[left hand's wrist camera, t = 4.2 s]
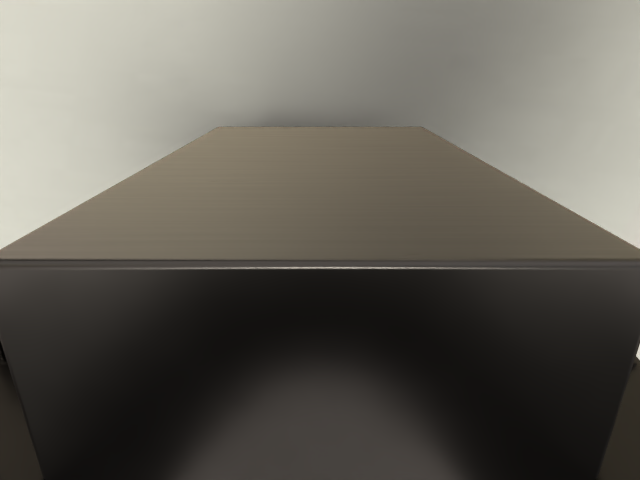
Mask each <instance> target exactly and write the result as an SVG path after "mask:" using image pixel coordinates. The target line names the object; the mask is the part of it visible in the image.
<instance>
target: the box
mask: <svg viewBox="0 0 640 480" xmlns="http://www.w3.org/2000/svg"><path fill="white" fill-rule="evenodd" d="M0 341H1V344H2V347H3V351H4V354H5V357H6V360H7V363H8V367H9V370H10V373H11V376H12V379H13V383H14V386H15V389H16V392H17V395H18V399H19V402H20V405H21V408H22V411H23V415H24V418H25V421H26V424H27V427H28V431H29V434H30V437H31V440H32V443H33V447H34V450H35V453H36V456H37V459H38V463H39V466H40V469H41V472H42V475H43V478H44V479H45V480H595V479H596V478H598V475H599V472H600V469H601V465H602V462H603V459H604V456H605V453H606V450H607V446H608V443H609V440H610V437H611V434H612V430H613V427H614V424H615V421H616V418H617V414H618V411H619V408H620V405H621V402H622V398H623V395H624V392H625V389H626V386H627V383H628V379H629V376H630V373H631V370H632V367H633V363H634V360H635V357H636V354H637V351H638V347H639V344H640V249H639V248H637V247H635V246H633V245H632V244H630V243H628V242H626V241H624V240H623V239H621V238H619V237H617V236H615V235H614V234H612V233H610V232H608V231H607V230H605V229H603V228H601V227H599V226H598V225H596V224H594V223H592V222H591V221H589V220H587V219H585V218H583V217H582V216H580V215H578V214H576V213H574V212H573V211H571V210H569V209H567V208H566V207H564V206H562V205H560V204H558V203H557V202H555V201H553V200H551V199H550V198H548V197H546V196H544V195H542V194H541V193H539V192H537V191H535V190H534V189H532V188H530V187H528V186H526V185H525V184H523V183H521V182H519V181H517V180H516V179H514V178H512V177H510V176H509V175H507V174H505V173H503V172H501V171H500V170H498V169H496V168H494V167H493V166H491V165H489V164H487V163H485V162H484V161H482V160H480V159H478V158H476V157H475V156H473V155H471V154H469V153H468V152H466V151H464V150H462V149H460V148H459V147H457V146H455V145H453V144H452V143H450V142H448V141H446V140H444V139H443V138H441V137H439V136H437V135H436V134H434V133H432V132H430V131H428V130H427V129H425V128H423V127H217V128H216V129H214V130H212V131H210V132H208V133H207V134H205V135H203V136H201V137H200V138H198V139H196V140H194V141H192V142H191V143H189V144H187V145H185V146H184V147H182V148H180V149H178V150H176V151H175V152H173V153H171V154H169V155H168V156H166V157H164V158H162V159H160V160H159V161H157V162H155V163H153V164H152V165H150V166H148V167H146V168H144V169H143V170H141V171H139V172H137V173H136V174H134V175H132V176H130V177H128V178H127V179H125V180H123V181H121V182H120V183H118V184H116V185H114V186H112V187H111V188H109V189H107V190H105V191H104V192H102V193H100V194H98V195H96V196H95V197H93V198H91V199H89V200H88V201H86V202H84V203H82V204H80V205H79V206H77V207H75V208H73V209H72V210H70V211H68V212H66V213H64V214H63V215H61V216H59V217H57V218H56V219H54V220H52V221H50V222H48V223H47V224H45V225H43V226H41V227H40V228H38V229H36V230H34V231H32V232H31V233H29V234H27V235H25V236H24V237H22V238H20V239H18V240H16V241H15V242H13V243H11V244H9V245H8V246H6V247H4V248H2V249H0Z"/></svg>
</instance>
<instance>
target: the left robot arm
mask: <svg viewBox="0 0 640 480" xmlns="http://www.w3.org/2000/svg"><path fill="white" fill-rule="evenodd" d="M0 480H45V479H44V478H43V475H42V472H41V469H40V466H39V463H38V459H37V456H36V453H35V450H34V447H33V443H32V440H31V437H30V434H29V431H28V427H27V424H26V421H25V418H24V415H23V411H22V408H21V405H20V402H19V399H18V395H17V392H16V389H15V386H14V383H13V379H12V376H11V373H10V370H9V367H8V363H7V360H6V357H5V354H4V351H3V347H2V344H1V341H0ZM595 480H640V360H639V359H638V358H637V357H635V360H634V363H633V367H632V370H631V373H630V376H629V379H628V383H627V386H626V389H625V392H624V395H623V398H622V402H621V405H620V408H619V411H618V414H617V418H616V421H615V424H614V427H613V430H612V434H611V437H610V440H609V443H608V446H607V450H606V453H605V456H604V459H603V462H602V465H601V469H600V472H599V475H598V478H596V479H595Z"/></svg>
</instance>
